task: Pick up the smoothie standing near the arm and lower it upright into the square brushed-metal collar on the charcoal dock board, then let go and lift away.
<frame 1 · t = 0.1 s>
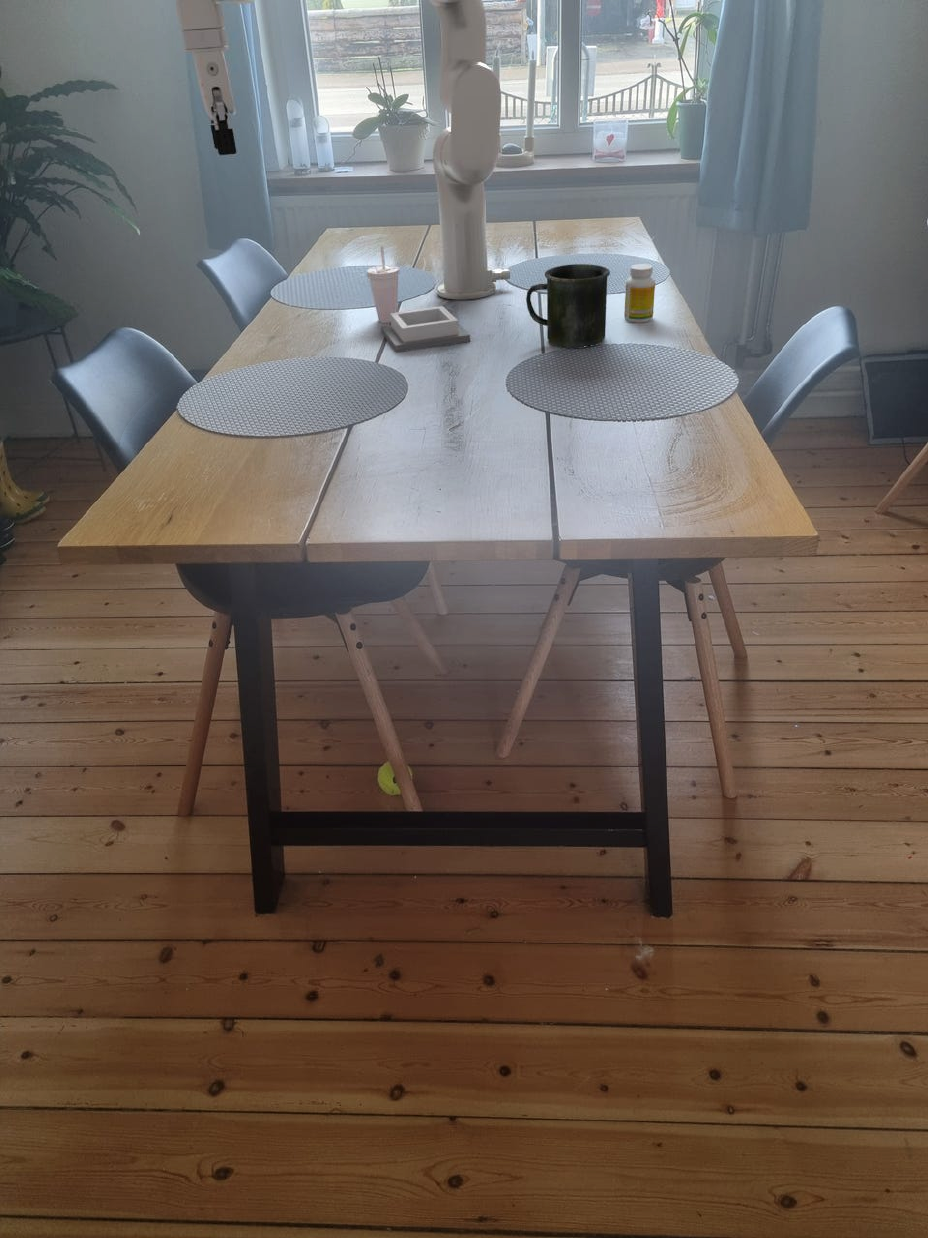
hand: (225, 150, 167), 31 cm above the table, tool pointing down, fingers open, 9 cm apart
mug: (566, 341, 163), on the table
smoothie: (388, 320, 180), on the table
dock: (424, 336, 170), on the table
supplement bottle: (638, 320, 172), on the table
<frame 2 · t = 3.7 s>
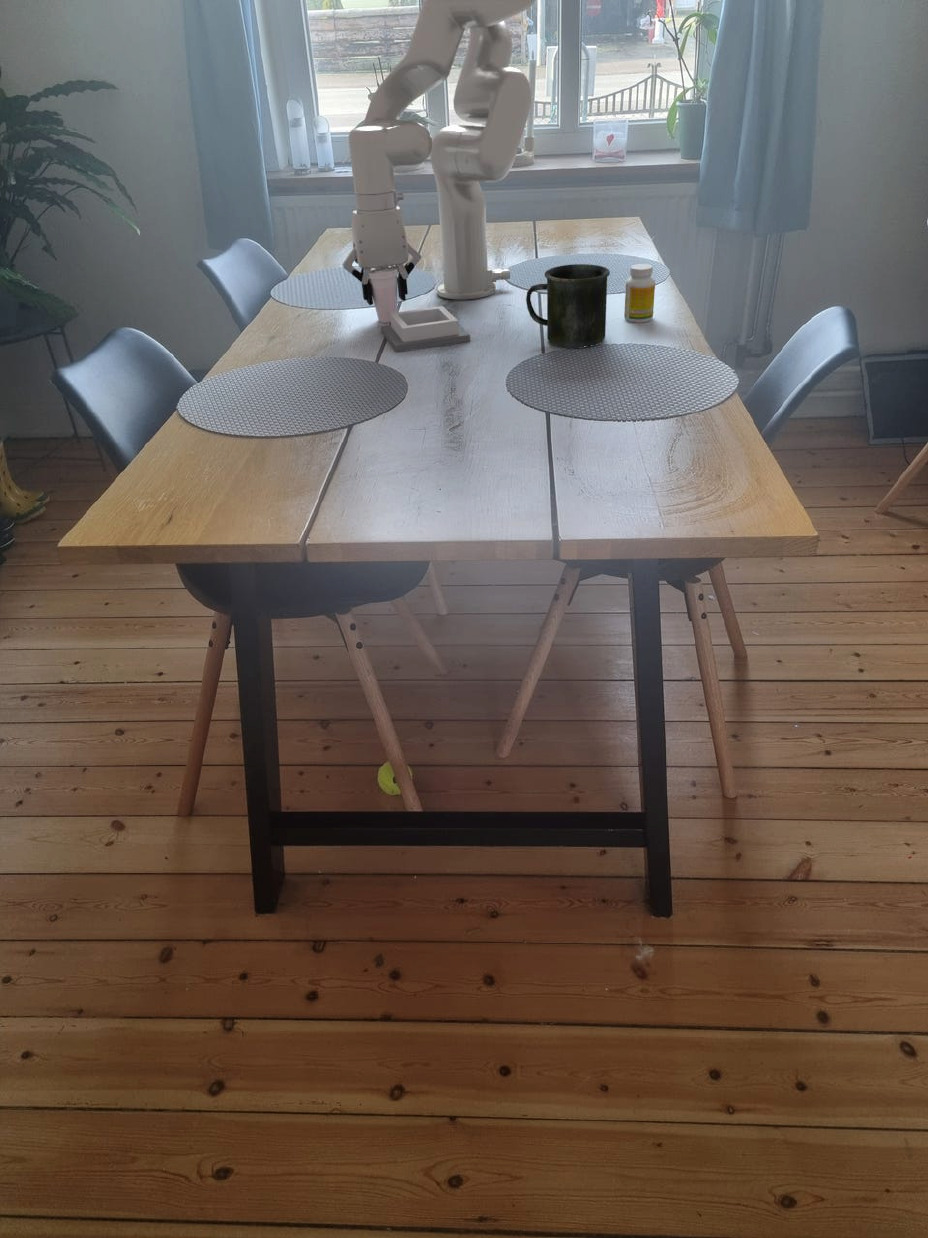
hand: (386, 300, 178), 4 cm above the table, tool pointing down, fingers closed on smoothie, 5 cm apart
smoothie: (388, 320, 180), on the table, touching gripper
everything else where it was.
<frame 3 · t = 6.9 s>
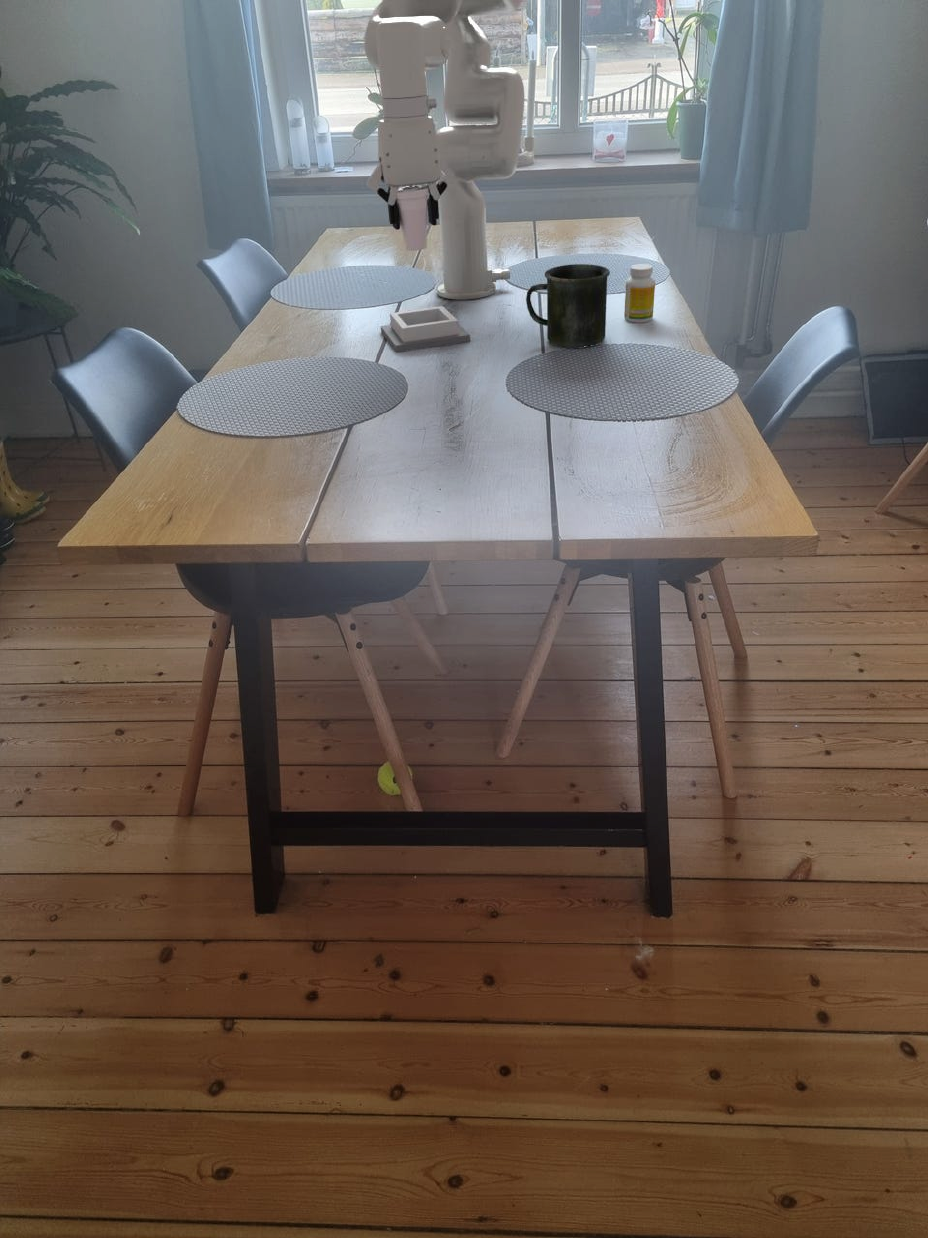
hand: (414, 224, 159), 20 cm above the table, tool pointing down, fingers closed on smoothie, 5 cm apart
smoothie: (416, 249, 161), point 16 cm above the table, touching gripper
everything else where it was.
when the fingers open (7 cm above the table, at t = 9.8 s): smoothie drops 2 cm, resting on dock.
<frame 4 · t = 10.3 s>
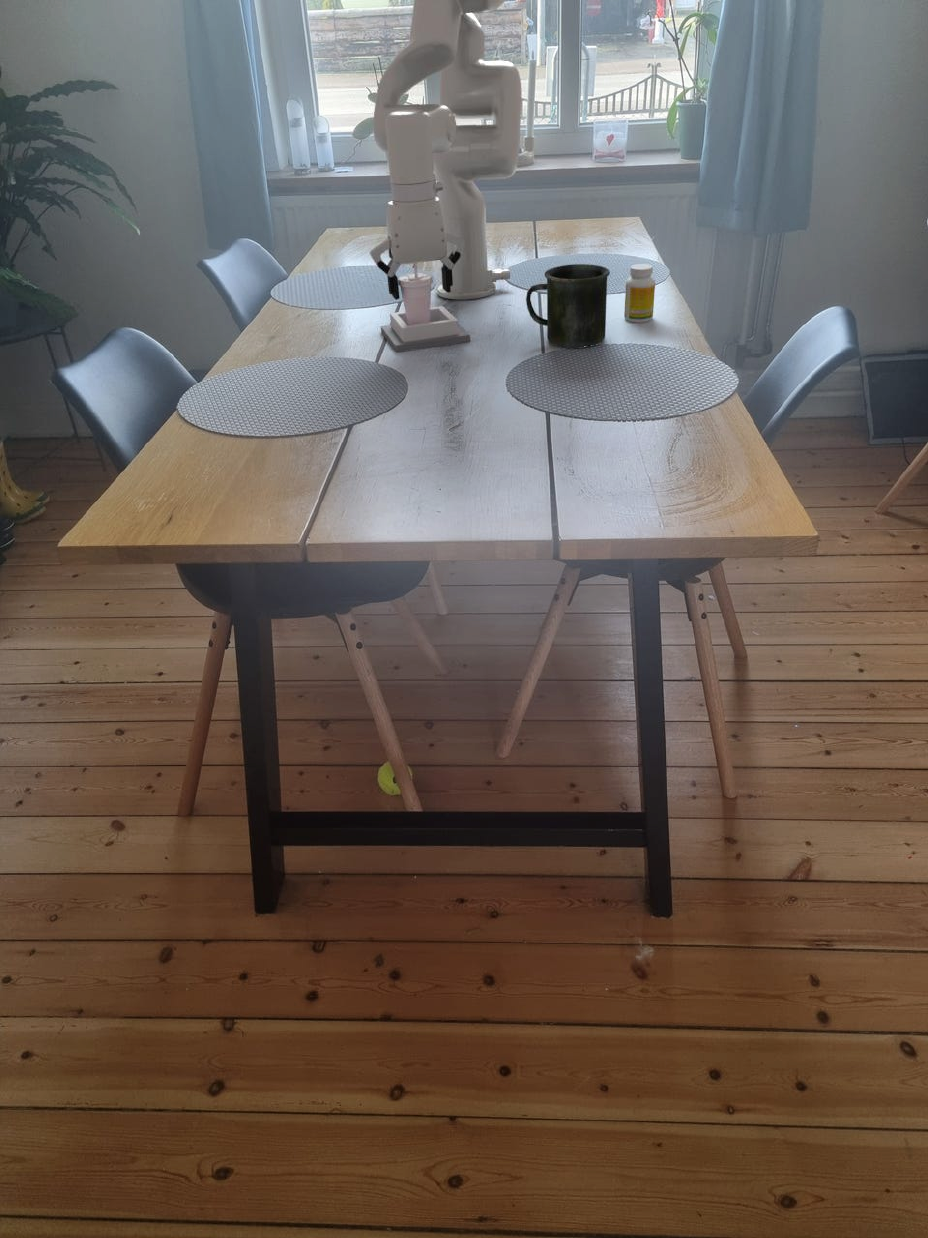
hand: (421, 294, 165), 8 cm above the table, tool pointing down, fingers open, 9 cm apart
smoothie: (419, 331, 169), point 1 cm above the table, touching dock
everything else where it was.
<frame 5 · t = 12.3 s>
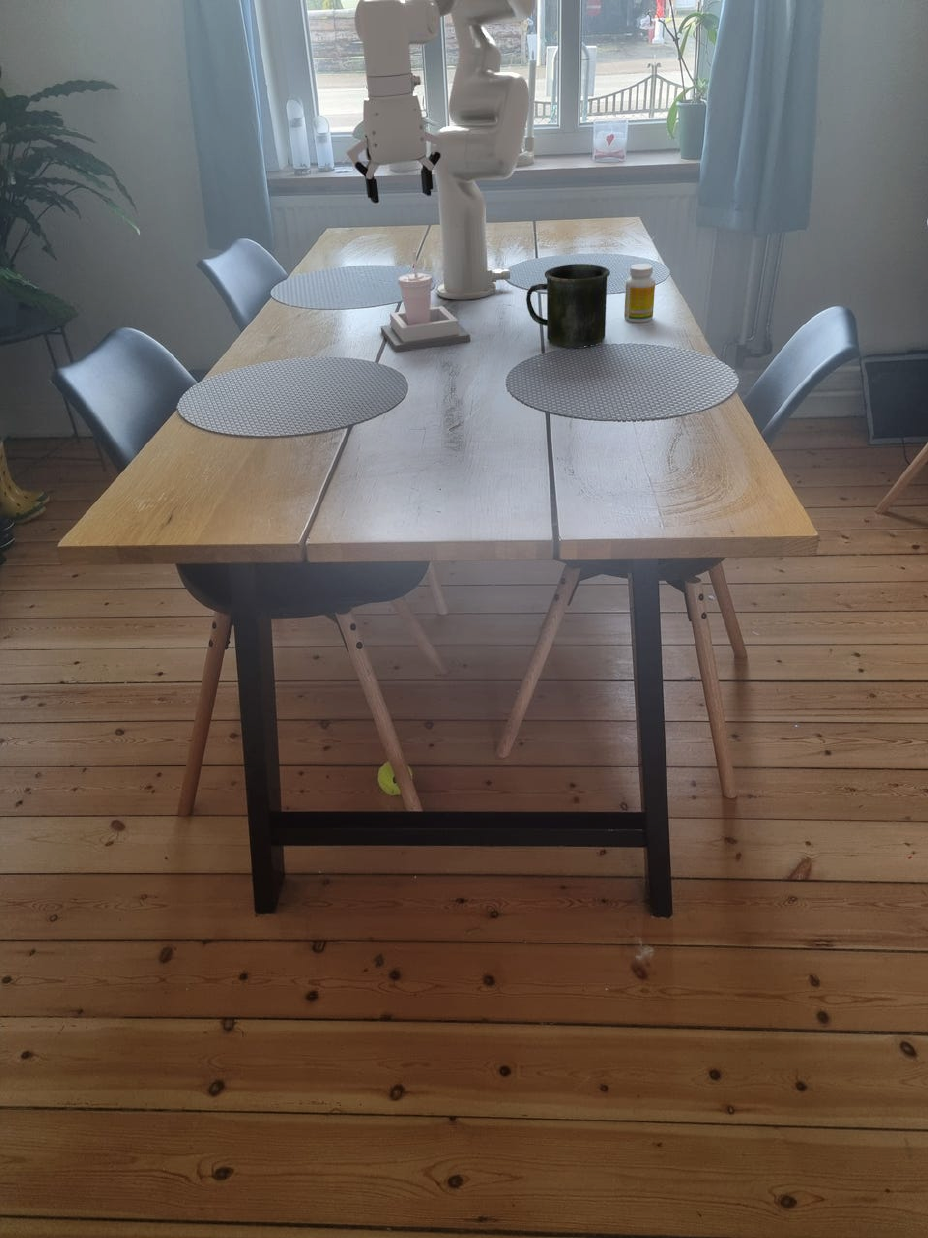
hand: (401, 198, 160), 23 cm above the table, tool pointing down, fingers open, 9 cm apart
nothing on the table moved.
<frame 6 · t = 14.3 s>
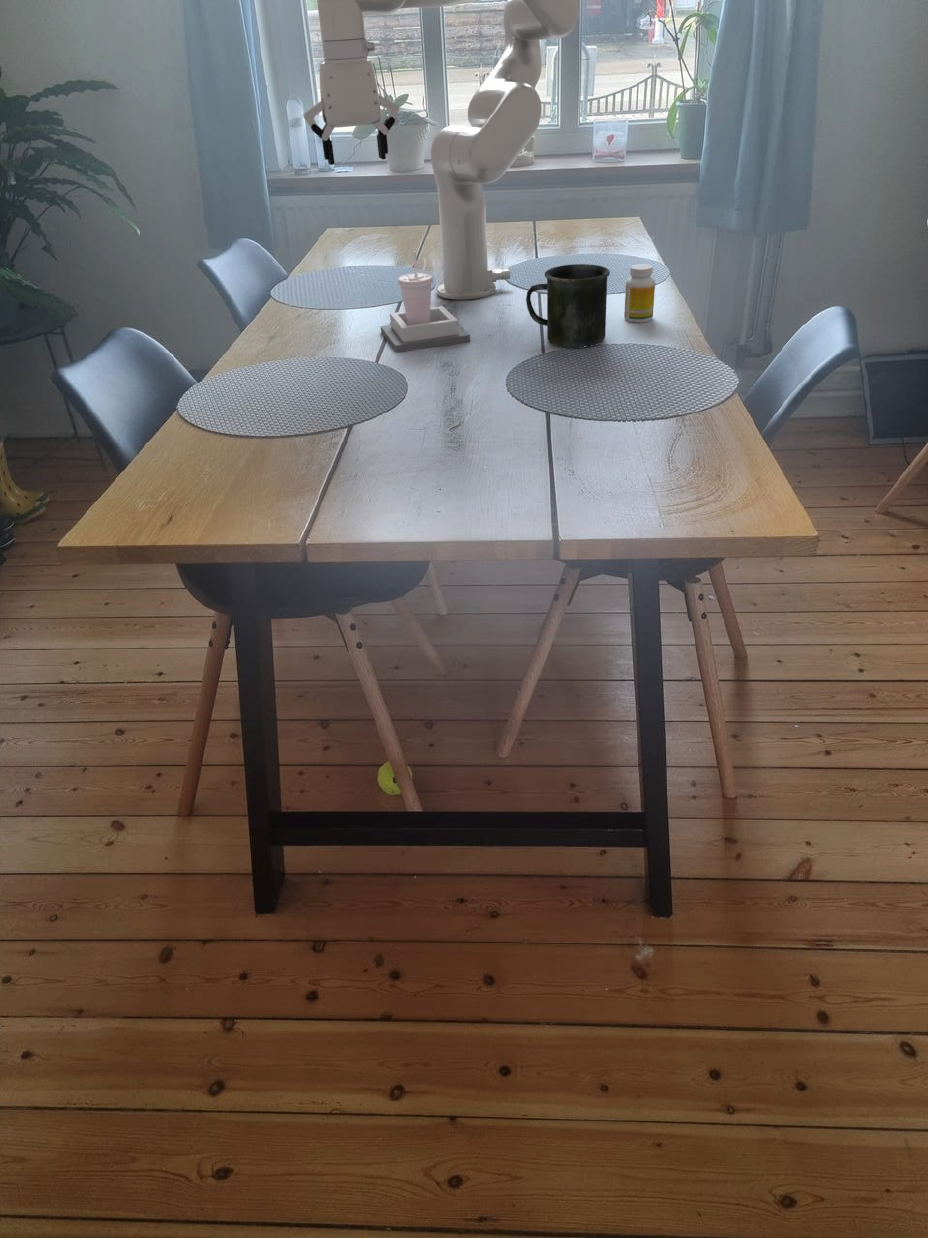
hand: (357, 160, 167), 28 cm above the table, tool pointing down, fingers open, 9 cm apart
nothing on the table moved.
at the end: smoothie 0.9 cm off-centre on the dock, point 1.0 cm above the dock's base; smoothie tilted 0°; the gripper is holding nothing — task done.
